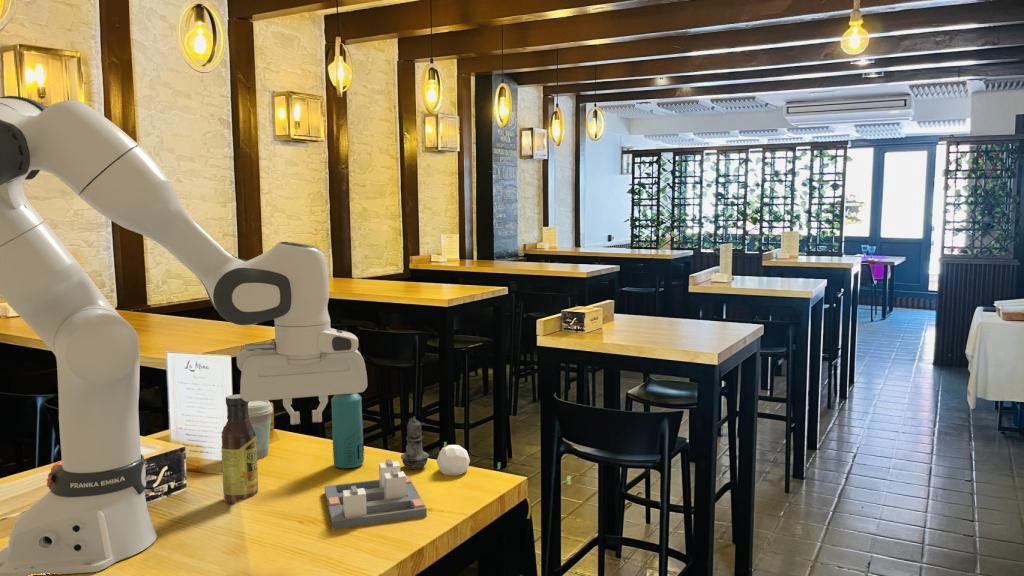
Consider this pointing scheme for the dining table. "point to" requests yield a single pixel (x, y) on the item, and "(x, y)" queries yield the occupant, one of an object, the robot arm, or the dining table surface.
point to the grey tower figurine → (414, 447)
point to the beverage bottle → (347, 430)
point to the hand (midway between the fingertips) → (306, 422)
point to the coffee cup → (261, 424)
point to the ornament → (453, 460)
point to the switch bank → (374, 504)
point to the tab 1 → (354, 502)
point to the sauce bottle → (239, 452)
